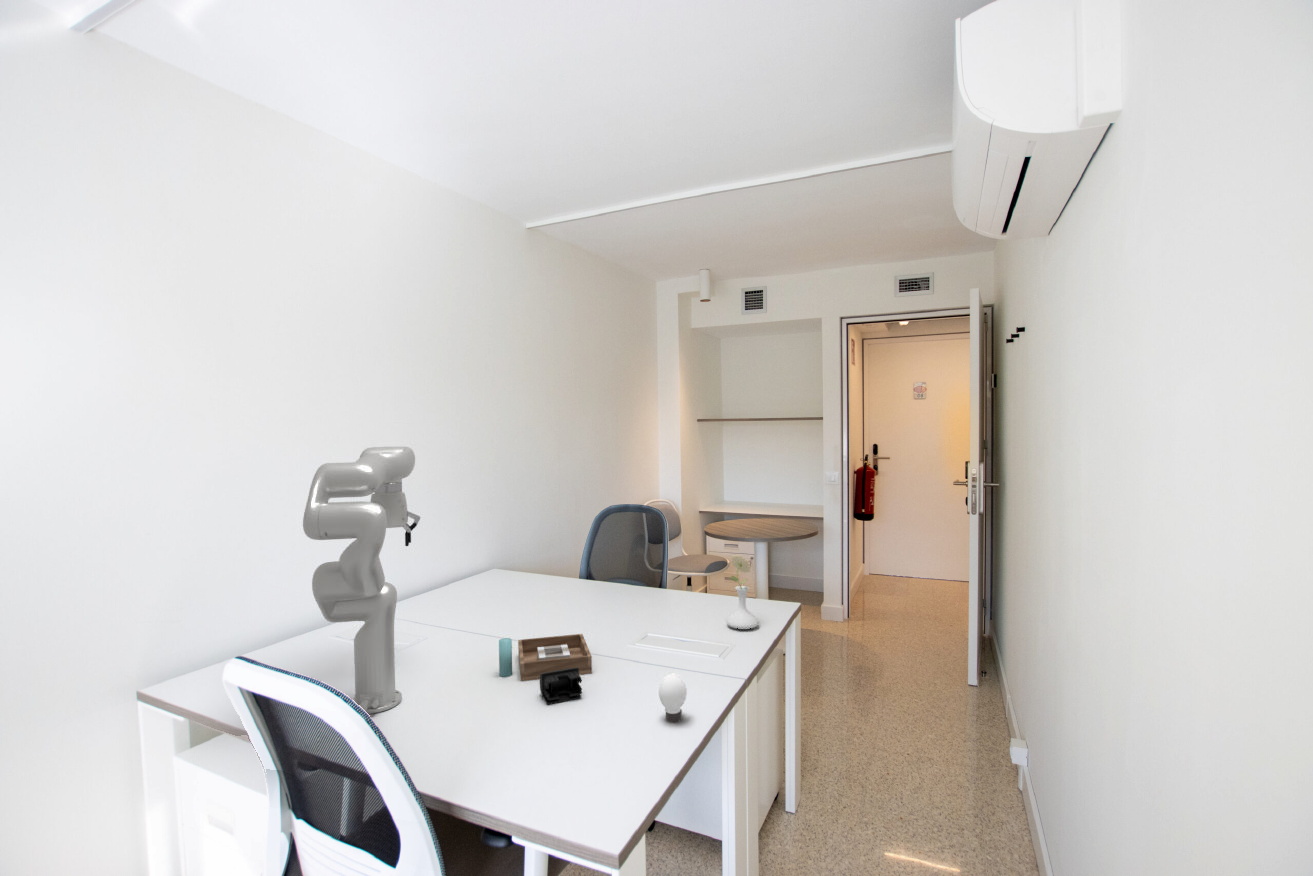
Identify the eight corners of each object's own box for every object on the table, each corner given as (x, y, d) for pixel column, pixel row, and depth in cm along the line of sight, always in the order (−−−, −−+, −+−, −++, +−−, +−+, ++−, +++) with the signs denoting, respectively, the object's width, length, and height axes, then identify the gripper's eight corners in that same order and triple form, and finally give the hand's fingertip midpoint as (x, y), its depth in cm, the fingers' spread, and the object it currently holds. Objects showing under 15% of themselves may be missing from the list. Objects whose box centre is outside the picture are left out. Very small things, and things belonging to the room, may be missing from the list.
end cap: (576, 688, 171) (575, 664, 171) (583, 699, 164) (583, 673, 164) (539, 695, 167) (539, 670, 167) (545, 706, 160) (545, 679, 160)
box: (591, 673, 181) (591, 656, 180) (520, 681, 176) (520, 663, 176) (582, 649, 200) (582, 633, 200) (518, 655, 195) (518, 639, 195)
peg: (512, 676, 179) (511, 641, 179) (499, 677, 178) (498, 643, 178) (512, 671, 183) (511, 637, 182) (499, 673, 182) (498, 638, 182)
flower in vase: (765, 629, 217) (764, 557, 216) (736, 634, 213) (735, 560, 212) (746, 618, 229) (745, 550, 228) (718, 622, 225) (717, 553, 224)
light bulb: (692, 718, 153) (691, 673, 152) (674, 728, 148) (674, 682, 147) (671, 710, 157) (670, 666, 157) (653, 719, 152) (652, 674, 152)
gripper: (353, 491, 178) (355, 551, 179) (418, 488, 183) (419, 547, 184) (358, 488, 186) (360, 546, 186) (420, 486, 190) (421, 542, 191)
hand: (389, 546), depth 185 cm, fingers open, 9 cm apart
